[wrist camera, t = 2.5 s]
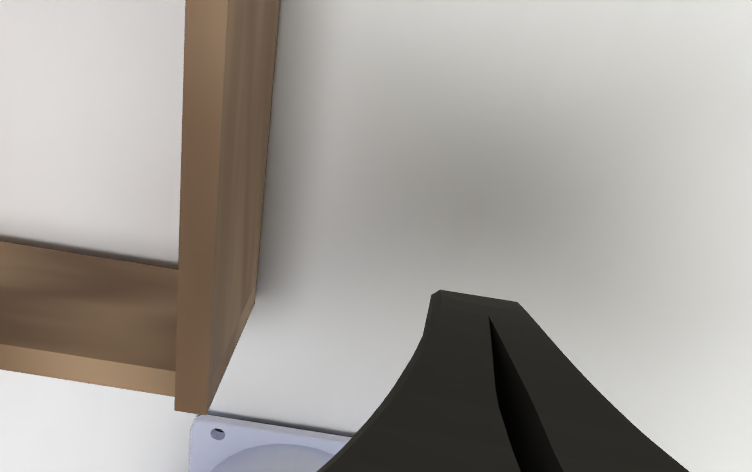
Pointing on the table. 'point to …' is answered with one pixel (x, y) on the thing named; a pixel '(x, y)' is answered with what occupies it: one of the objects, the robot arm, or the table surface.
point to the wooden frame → (196, 240)
